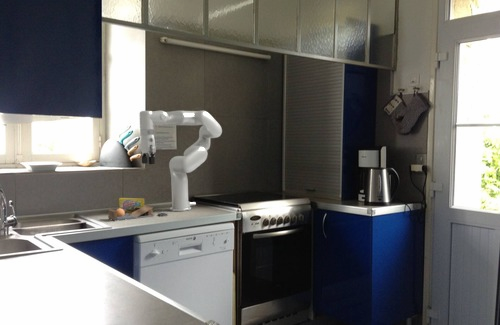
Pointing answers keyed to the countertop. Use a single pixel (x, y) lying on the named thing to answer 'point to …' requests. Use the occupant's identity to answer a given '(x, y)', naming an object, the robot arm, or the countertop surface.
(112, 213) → the ramp
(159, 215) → the cradle
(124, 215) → the runway
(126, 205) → the candy box
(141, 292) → the countertop surface
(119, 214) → the ball
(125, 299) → the countertop surface
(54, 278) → the countertop surface
